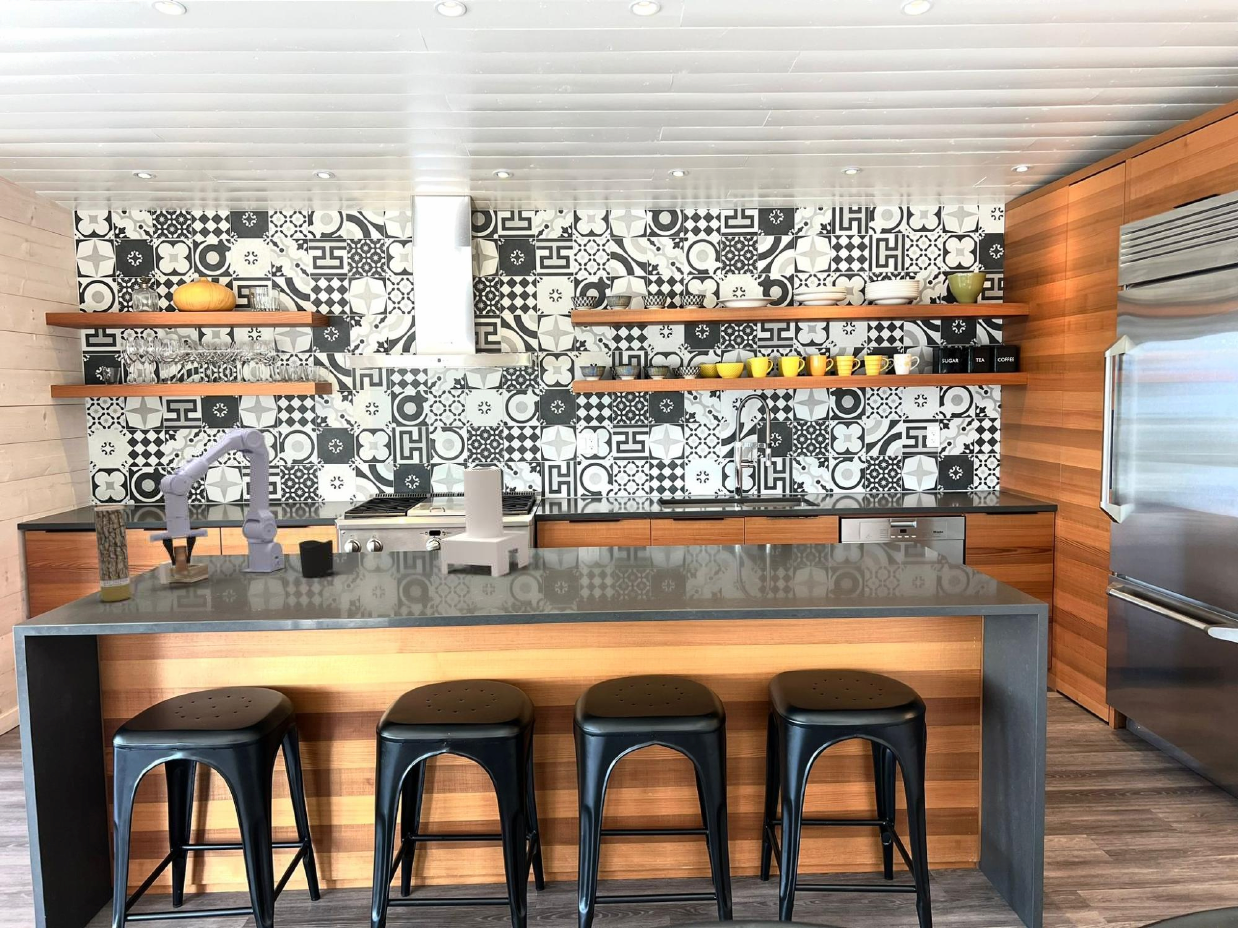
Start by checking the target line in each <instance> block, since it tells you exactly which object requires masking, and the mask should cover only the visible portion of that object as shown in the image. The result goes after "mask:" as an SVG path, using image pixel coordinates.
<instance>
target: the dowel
mask: <svg viewBox="0 0 1238 928" xmlns="http://www.w3.org/2000/svg"><path fill="white" fill-rule="evenodd" d="M173 552H174V558H175V571H176V572H184V571H188V564H187V545H176V546H173Z"/></svg>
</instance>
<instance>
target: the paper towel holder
mask: <svg viewBox="0 0 1238 928" xmlns="http://www.w3.org/2000/svg"><path fill="white" fill-rule="evenodd" d="M501 473H502V472H501V467H489V466H488V467H473V468H470V467H469V468H464V469H463V470H462V474H463V475H462V477H463V491H464V492H463V494H464V495H463V496H464V515H465V516H464V517H465V532H463V533H459V534H456V535H452V536H449V537H445V538H442V539H440V557H441V559H440V561H441V574H446V575H447V574H448V573H449V572H451V571H453V570H455V565H464V566H466V565H472V566H473V565H474V566H491V570H490V571H491V577H496V578H499V577H501V576H502V575H506V574H507V573H509V572H510V562H509V554H517V562H518V567H517V568H518V569H520V568H522V567H525V566H527V565H529V564H530V557H529V554H530V553H529V536H528V535H529V534H528V533H529V532H528V531H520V530H519V531H517V530H504V520H503V519H504V517H503V501H502V500H503V497H502V496H503V495H502V492H503V491H502V474H501Z"/></svg>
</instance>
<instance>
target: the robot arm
mask: <svg viewBox="0 0 1238 928" xmlns="http://www.w3.org/2000/svg"><path fill="white" fill-rule="evenodd" d="M265 439H266V438H265V435H264V434H263V433H262V432H260V430H259V429H256V428H243V429H241V428H232V429H231V430H229V431H228V432H227V433H225V434H224V435H223V436H222V437H221V438H220V439H219V440H218V441H217V442H216V443H215V444H214V445H212V446H211V447H210V448H209V449H208V450H207V451H205V453H204V454H202V455H201V456H200V457H197V456H194V457H188V458H186V460H185V461H186V462H185V463H184V464H183V465H182V466H180V467H179V468H175V469H174V470H173V474H168V475H166V476H164V477H163V478H161V482H160V484H159V485H158V488H159V490H160V492H161V493H162V494H163V496H164V497H163V499H164V507H165V519H166V529H167V531H166V532H160V533H151V534H149V542H150V543H153V542H160V541H161V542H162V546H163V547H164V548H165V550H166V552H167V553H168V556H169V559H170V561H172V566H174V565H175V558H174V540H182V539H186V540H185V541H186V549H187V564H190V559H191V556H192V554H193V550H194V546H195V544H196V542H197V538H202V537H204V538H206V537H209V533H208V529H207V528H206V529H204V528H203V529H191V526H190V525H191V524H190V513H189V500H188V493H190V491H191V489H192V485H193V484H195V483H197V482H198V481H199V480H200V479H201V478H202V477H204V476H205V475H206V474H207V473H208V472H209V468H210V466H211V465H213V463H215V462H216V461H217V460H219V459H221V458H222V457H223V456H225V455H226V454H228V453H229V452H232V451H237V452H240V453H241V454H243V455H244V456H245V457H246V458H248V459H249V511H248V512H247V513H246V514H245V516H244V522H243V524H242V527H241V533H242V535H243V537H244V538H245V539H246V542H247V550H248V564H249V565H248V568H246V569H243V570H242V571H243V573H245V572H246V573H271V572H275V571H278V570H281V569H283V568H286V566H285V565H284V557H283V556H284V555H283V546H282V544H281V543H280V542H278V541H275V540H274V539H275V537H277V534H278V527H277V524H276V522H275V515H274V514H273V513H272V512H271V511H270V509H269V508H270V452H269V449H268V447H267V444H266V442H265V441H266V440H265Z"/></svg>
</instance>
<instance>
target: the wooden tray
mask: <svg viewBox="0 0 1238 928" xmlns="http://www.w3.org/2000/svg"><path fill="white" fill-rule="evenodd" d="M170 571H171V583H195V582H197V581H201V580H204V579H208V578H209V576H210V575H209V564H208V563H193V564H188V571H184V572H176V571H175V567H174V568H170Z"/></svg>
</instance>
